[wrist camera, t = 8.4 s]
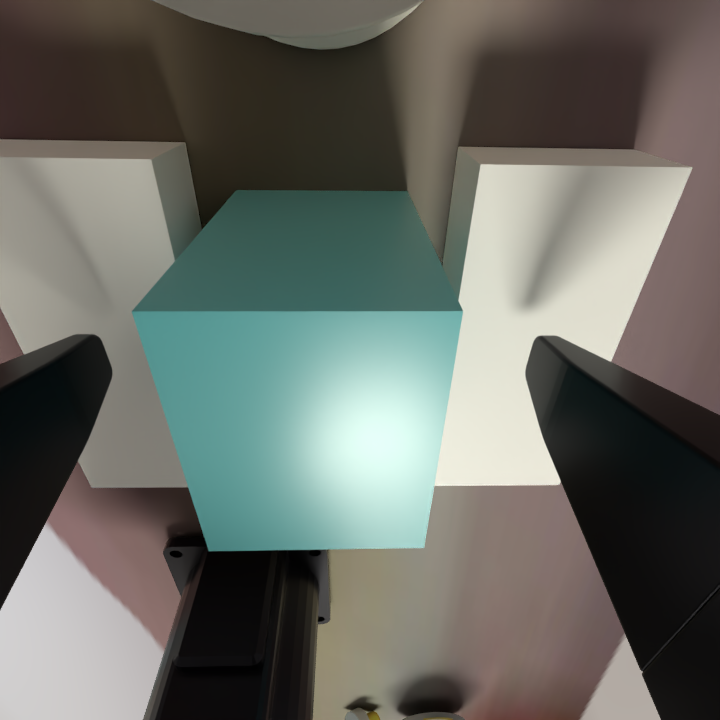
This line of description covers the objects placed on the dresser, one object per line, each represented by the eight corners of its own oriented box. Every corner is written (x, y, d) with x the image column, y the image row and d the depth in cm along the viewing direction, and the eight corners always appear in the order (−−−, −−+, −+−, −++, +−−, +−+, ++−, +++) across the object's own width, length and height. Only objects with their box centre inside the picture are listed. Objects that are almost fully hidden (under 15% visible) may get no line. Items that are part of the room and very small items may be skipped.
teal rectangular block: (394, 364, 13) (423, 548, 8) (261, 364, 13) (208, 551, 8) (407, 190, 10) (463, 311, 5) (236, 189, 10) (131, 311, 5)
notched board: (535, 438, 15) (559, 485, 13) (120, 439, 14) (91, 487, 13) (634, 149, 10) (692, 167, 8) (-2, 139, 9) (-77, 155, 8)
